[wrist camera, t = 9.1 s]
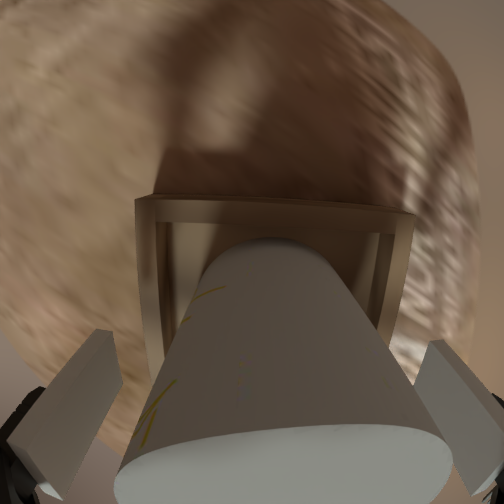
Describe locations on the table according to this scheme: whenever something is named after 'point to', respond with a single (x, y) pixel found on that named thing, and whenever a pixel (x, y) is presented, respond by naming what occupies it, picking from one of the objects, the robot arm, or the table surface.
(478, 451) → the robot arm
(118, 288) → the table surface
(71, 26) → the table surface
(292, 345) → the grey cylinder
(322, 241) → the caddy
